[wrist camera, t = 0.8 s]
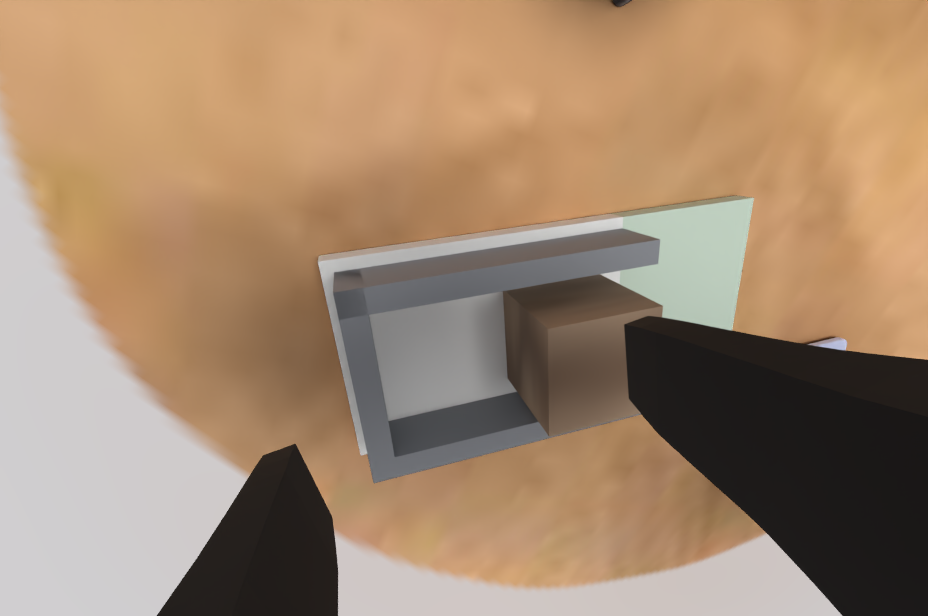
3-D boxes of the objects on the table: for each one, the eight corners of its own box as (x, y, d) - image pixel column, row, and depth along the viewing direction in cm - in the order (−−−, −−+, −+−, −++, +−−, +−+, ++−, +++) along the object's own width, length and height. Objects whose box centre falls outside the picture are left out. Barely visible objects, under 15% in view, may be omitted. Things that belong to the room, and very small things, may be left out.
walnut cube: (593, 359, 21) (653, 410, 17) (507, 378, 20) (549, 436, 16) (596, 272, 20) (663, 305, 15) (502, 288, 19) (547, 329, 15)
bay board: (711, 358, 25) (766, 390, 22) (359, 441, 21) (363, 495, 17) (736, 195, 21) (805, 204, 18) (318, 255, 17) (313, 280, 14)
